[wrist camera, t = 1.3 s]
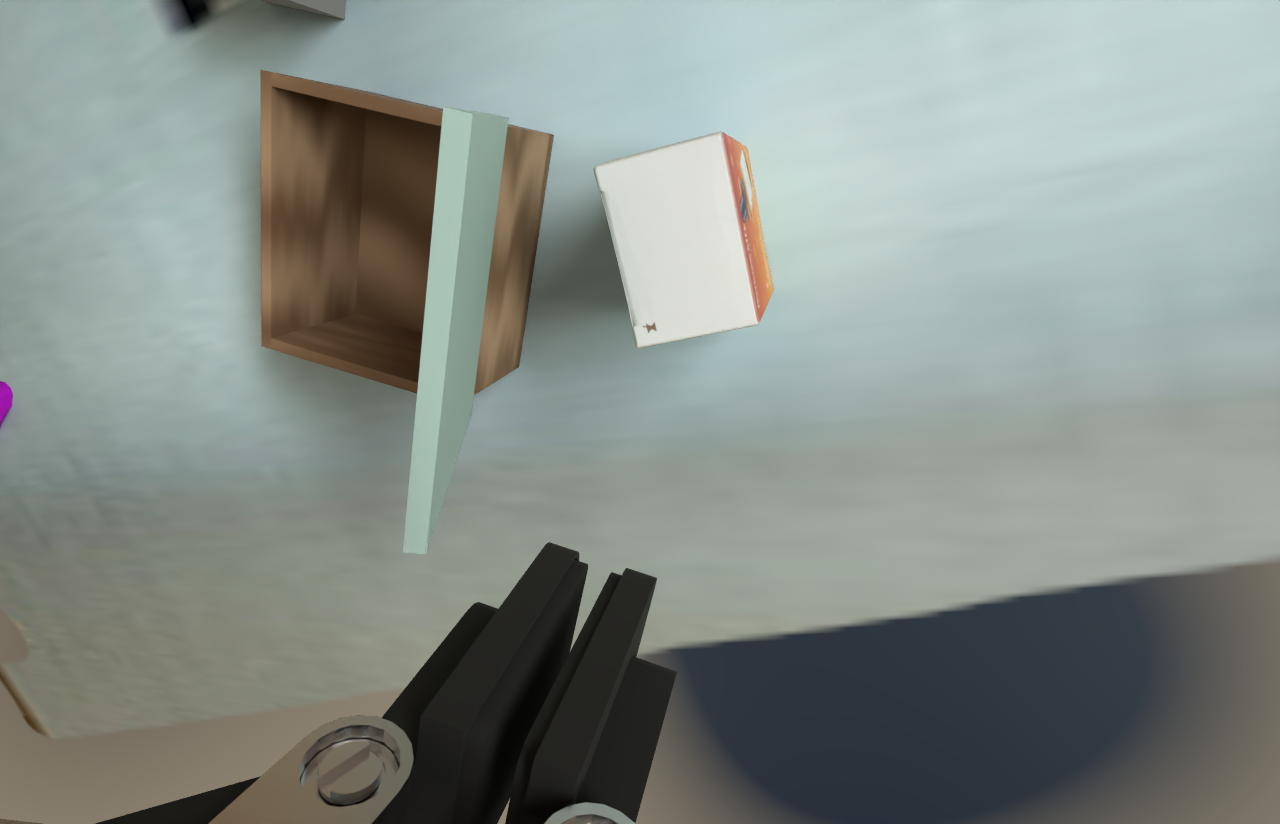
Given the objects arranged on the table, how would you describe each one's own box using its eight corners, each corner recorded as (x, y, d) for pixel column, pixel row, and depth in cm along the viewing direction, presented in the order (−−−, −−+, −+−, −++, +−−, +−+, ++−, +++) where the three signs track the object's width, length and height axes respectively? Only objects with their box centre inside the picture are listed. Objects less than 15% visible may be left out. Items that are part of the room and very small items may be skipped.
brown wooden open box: (364, 90, 39) (260, 69, 32) (553, 134, 37) (490, 123, 30) (353, 318, 44) (261, 345, 37) (518, 366, 42) (457, 405, 35)
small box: (775, 291, 37) (762, 330, 27) (679, 310, 39) (635, 353, 29) (748, 142, 35) (724, 127, 25) (648, 169, 37) (589, 165, 27)
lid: (443, 106, 18) (472, 113, 18) (490, 114, 30) (508, 117, 30) (402, 551, 24) (425, 554, 24) (455, 413, 35) (471, 416, 35)
